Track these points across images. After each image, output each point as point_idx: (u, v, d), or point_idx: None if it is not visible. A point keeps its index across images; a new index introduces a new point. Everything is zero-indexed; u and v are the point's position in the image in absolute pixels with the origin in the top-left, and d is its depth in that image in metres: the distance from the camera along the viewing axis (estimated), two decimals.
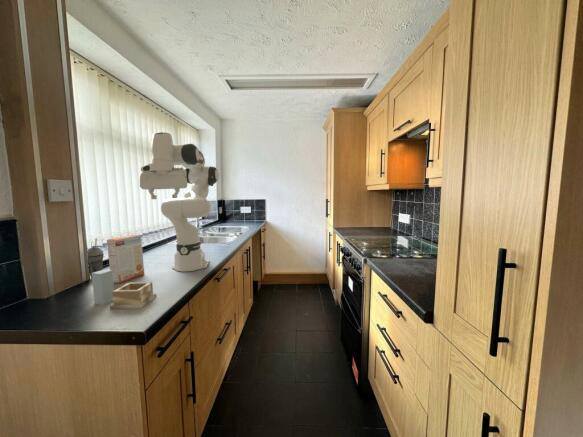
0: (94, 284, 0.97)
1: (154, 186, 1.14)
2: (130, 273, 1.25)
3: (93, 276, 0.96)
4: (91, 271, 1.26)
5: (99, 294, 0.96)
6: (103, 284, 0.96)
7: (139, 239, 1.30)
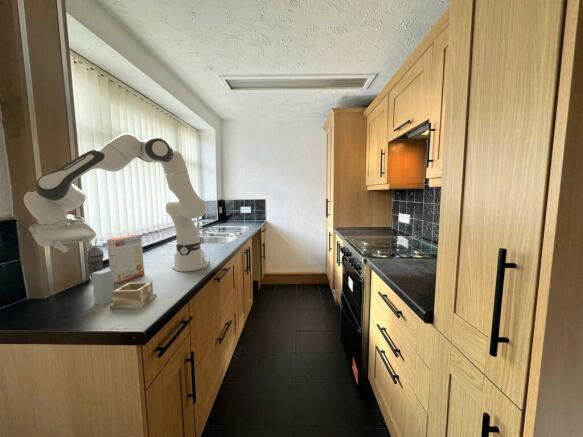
0: (94, 284, 0.97)
1: None
2: (130, 273, 1.25)
3: (93, 276, 0.96)
4: (91, 271, 1.26)
5: (99, 294, 0.96)
6: (103, 284, 0.96)
7: (139, 239, 1.30)
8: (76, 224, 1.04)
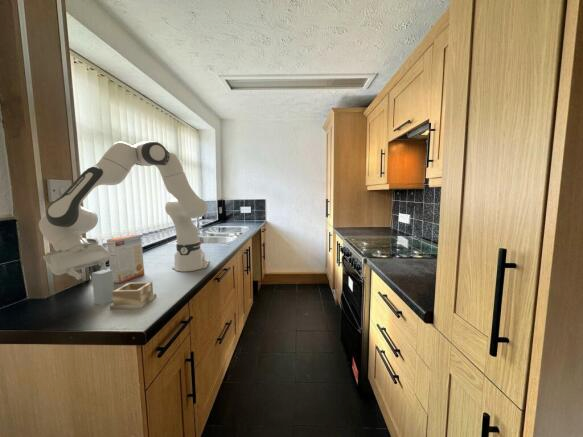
0: (94, 284, 0.97)
1: None
2: (130, 273, 1.25)
3: (93, 276, 0.96)
4: (91, 271, 1.26)
5: (99, 294, 0.96)
6: (103, 284, 0.96)
7: (139, 239, 1.30)
8: (91, 247, 1.04)
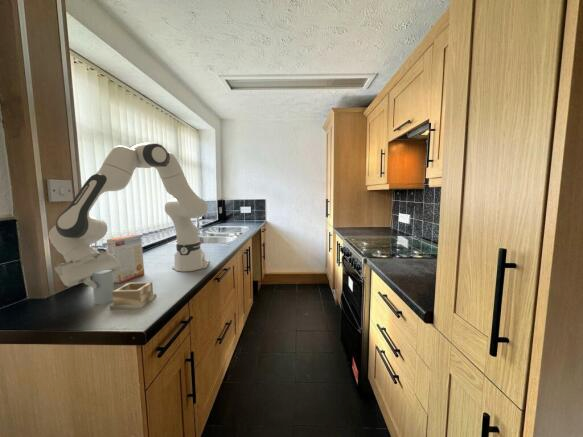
0: None
1: None
2: (130, 273, 1.25)
3: (93, 276, 0.96)
4: None
5: (99, 294, 0.96)
6: (103, 284, 0.96)
7: (139, 239, 1.30)
8: (101, 257, 1.03)
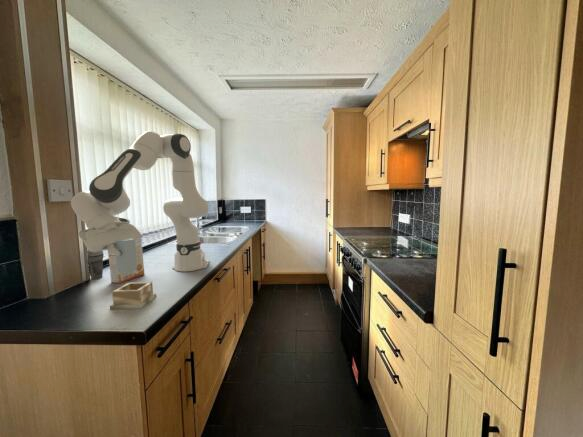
0: None
1: None
2: (130, 273, 1.25)
3: (116, 244, 0.94)
4: (91, 271, 1.26)
5: (122, 262, 0.95)
6: (126, 252, 0.94)
7: None
8: (123, 226, 1.01)
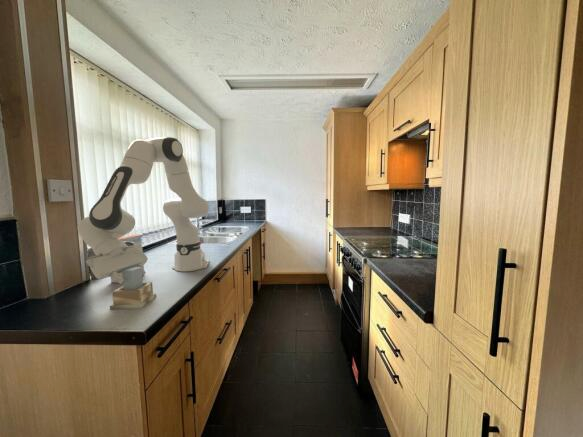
0: None
1: None
2: None
3: (123, 273, 0.95)
4: (91, 271, 1.26)
5: None
6: (133, 281, 0.95)
7: (139, 239, 1.30)
8: (129, 250, 1.02)
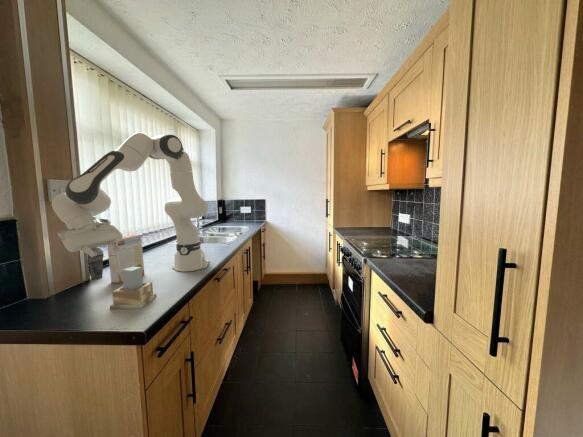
0: (124, 281, 0.96)
1: None
2: None
3: (123, 273, 0.95)
4: (91, 271, 1.26)
5: None
6: (133, 281, 0.95)
7: (139, 239, 1.30)
8: (103, 226, 1.04)
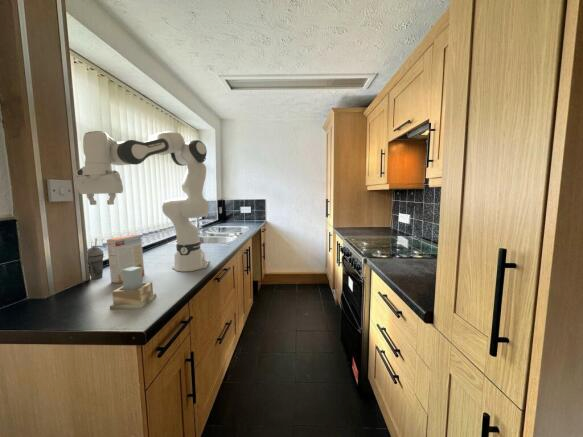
0: (124, 281, 0.96)
1: (90, 191, 1.06)
2: None
3: (123, 273, 0.95)
4: (91, 271, 1.26)
5: None
6: (133, 281, 0.95)
7: (139, 239, 1.30)
8: None
